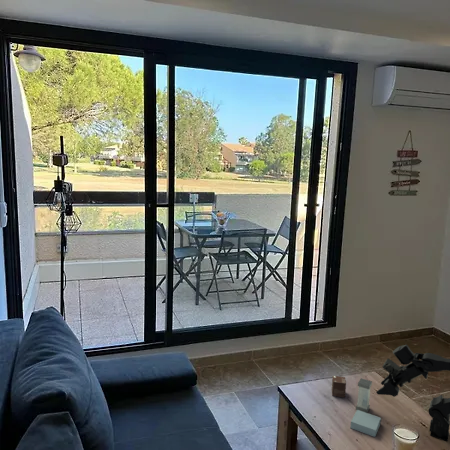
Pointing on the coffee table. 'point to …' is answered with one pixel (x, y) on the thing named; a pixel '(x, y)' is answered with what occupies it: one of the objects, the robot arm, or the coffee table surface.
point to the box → (338, 386)
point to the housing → (364, 395)
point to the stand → (365, 423)
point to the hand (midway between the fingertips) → (379, 388)
